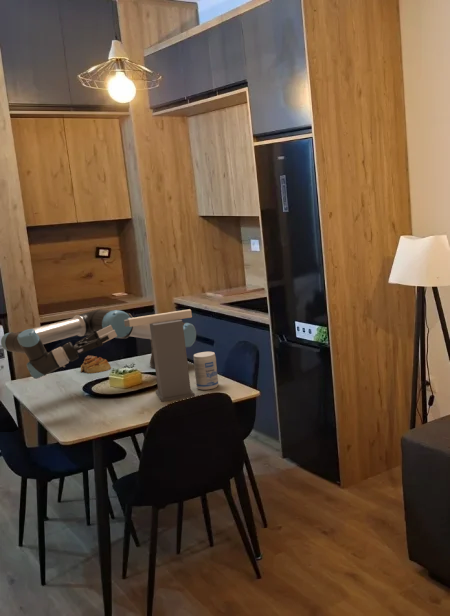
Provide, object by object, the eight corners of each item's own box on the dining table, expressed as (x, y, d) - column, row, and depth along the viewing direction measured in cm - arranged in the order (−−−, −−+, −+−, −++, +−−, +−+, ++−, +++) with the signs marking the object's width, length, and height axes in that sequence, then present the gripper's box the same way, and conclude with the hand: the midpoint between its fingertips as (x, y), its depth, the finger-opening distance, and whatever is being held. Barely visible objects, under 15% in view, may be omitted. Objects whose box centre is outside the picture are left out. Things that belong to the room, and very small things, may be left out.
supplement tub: (211, 391, 273) (207, 357, 271) (192, 389, 278) (188, 356, 275) (222, 384, 281) (219, 351, 279) (204, 383, 286) (200, 350, 284)
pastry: (79, 369, 334) (77, 354, 333) (108, 364, 338) (106, 349, 337) (82, 375, 322) (80, 360, 320) (112, 370, 326) (110, 355, 325)
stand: (155, 392, 279) (146, 320, 274) (187, 387, 283) (178, 315, 277) (161, 401, 266) (151, 326, 260) (194, 395, 269) (185, 320, 264)
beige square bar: (124, 326, 266) (123, 319, 266) (190, 316, 273) (189, 309, 272) (125, 327, 263) (124, 320, 263) (192, 317, 270) (191, 310, 269)
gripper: (68, 356, 272) (114, 333, 276) (71, 368, 248) (121, 343, 253) (60, 340, 271) (106, 317, 275) (62, 351, 247) (113, 326, 251)
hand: (114, 330), depth 264 cm, fingers open, 13 cm apart
